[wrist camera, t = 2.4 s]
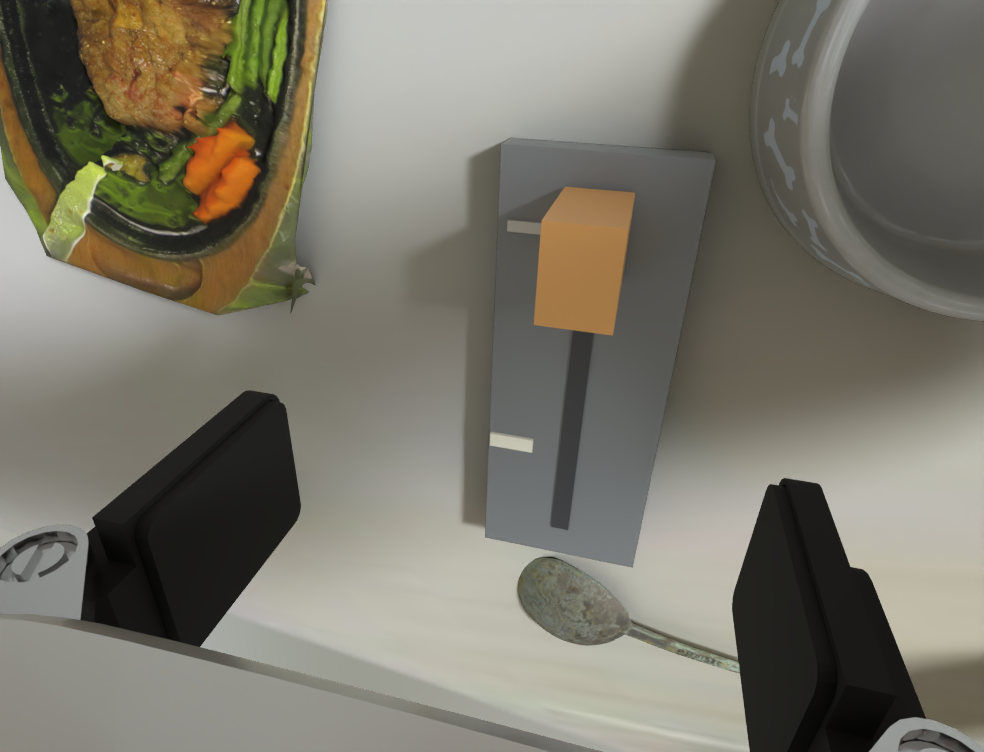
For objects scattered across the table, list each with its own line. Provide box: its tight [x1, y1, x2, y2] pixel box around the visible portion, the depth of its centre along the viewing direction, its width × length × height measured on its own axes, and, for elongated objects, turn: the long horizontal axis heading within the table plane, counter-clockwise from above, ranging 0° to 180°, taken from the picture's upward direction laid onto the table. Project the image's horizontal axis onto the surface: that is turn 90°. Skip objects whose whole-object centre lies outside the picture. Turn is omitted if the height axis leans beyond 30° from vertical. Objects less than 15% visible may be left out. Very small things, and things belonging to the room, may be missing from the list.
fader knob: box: [534, 186, 635, 335], centre depth 25 cm, size 4×3×6 cm
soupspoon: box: [518, 557, 740, 673], centre depth 40 cm, size 22×3×7 cm
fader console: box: [485, 138, 716, 568], centre depth 32 cm, size 23×9×2 cm, turn 178°
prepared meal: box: [0, 0, 328, 315], centre depth 29 cm, size 28×4×18 cm
